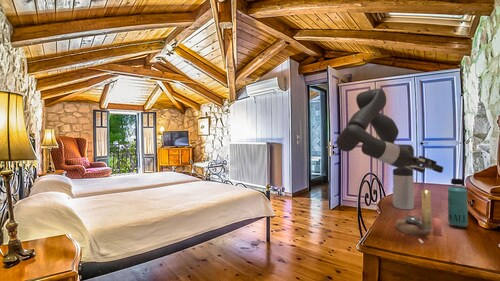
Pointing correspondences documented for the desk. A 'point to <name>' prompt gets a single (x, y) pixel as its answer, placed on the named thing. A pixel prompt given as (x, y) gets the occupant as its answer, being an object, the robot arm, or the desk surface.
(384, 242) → the desk surface
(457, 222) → the beverage bottle
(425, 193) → the crank
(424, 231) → the crank plinth
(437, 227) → the post
